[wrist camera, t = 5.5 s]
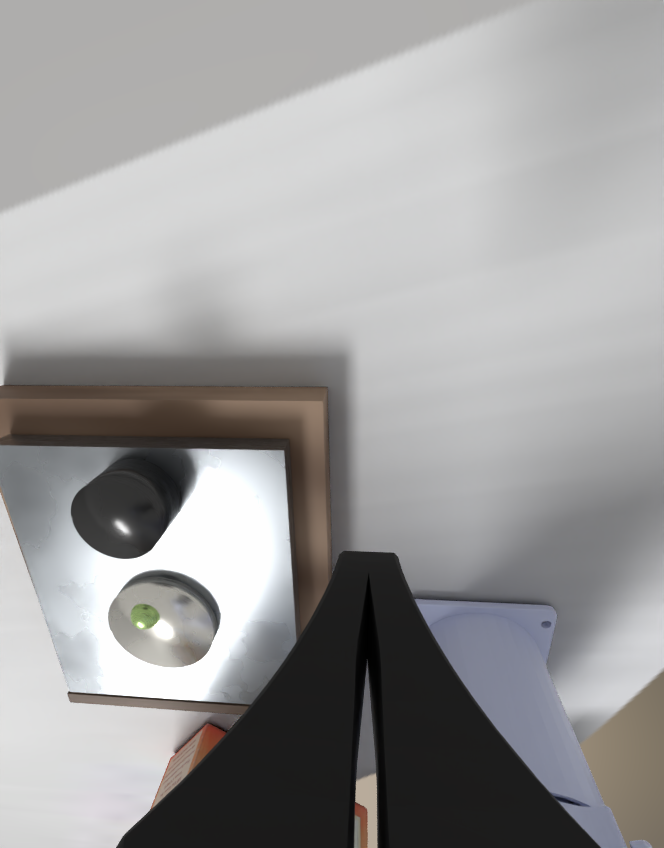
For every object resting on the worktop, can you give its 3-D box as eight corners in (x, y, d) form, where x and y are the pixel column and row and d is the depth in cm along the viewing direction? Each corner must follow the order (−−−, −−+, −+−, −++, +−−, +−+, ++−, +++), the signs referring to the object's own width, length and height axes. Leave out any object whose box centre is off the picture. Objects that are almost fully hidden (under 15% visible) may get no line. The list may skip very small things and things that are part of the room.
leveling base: (334, 668, 26) (329, 721, 23) (87, 653, 28) (53, 701, 25) (327, 387, 20) (319, 411, 17) (2, 385, 21) (-58, 407, 18)
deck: (303, 687, 24) (294, 747, 21) (82, 672, 25) (44, 728, 22) (289, 438, 19) (273, 473, 16) (8, 434, 20) (-57, 465, 17)
